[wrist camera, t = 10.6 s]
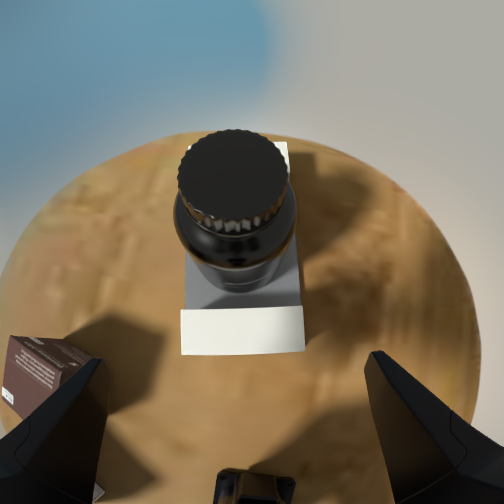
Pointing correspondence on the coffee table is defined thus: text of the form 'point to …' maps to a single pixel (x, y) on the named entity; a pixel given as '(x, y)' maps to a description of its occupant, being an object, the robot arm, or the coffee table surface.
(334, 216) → the coffee table surface
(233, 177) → the supplement bottle
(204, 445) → the coffee table surface
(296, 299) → the rail plate
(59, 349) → the box
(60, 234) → the coffee table surface
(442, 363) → the coffee table surface
